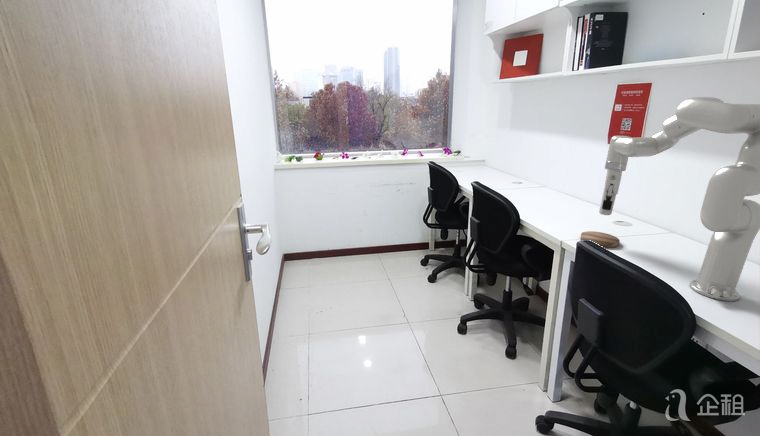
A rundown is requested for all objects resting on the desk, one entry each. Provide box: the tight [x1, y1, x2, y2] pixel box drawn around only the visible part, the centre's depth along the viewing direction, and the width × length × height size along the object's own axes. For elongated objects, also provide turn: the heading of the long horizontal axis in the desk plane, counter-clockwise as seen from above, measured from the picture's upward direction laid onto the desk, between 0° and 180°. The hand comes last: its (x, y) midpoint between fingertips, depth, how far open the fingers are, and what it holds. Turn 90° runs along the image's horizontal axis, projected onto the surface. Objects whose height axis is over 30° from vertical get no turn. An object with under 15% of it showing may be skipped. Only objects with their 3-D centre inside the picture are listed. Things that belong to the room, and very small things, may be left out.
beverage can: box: [598, 186, 617, 216], centre depth 159 cm, size 5×5×12 cm
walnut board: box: [579, 230, 621, 249], centre depth 165 cm, size 15×15×2 cm
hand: (606, 207), depth 160 cm, fingers closed on beverage can, 4 cm apart
